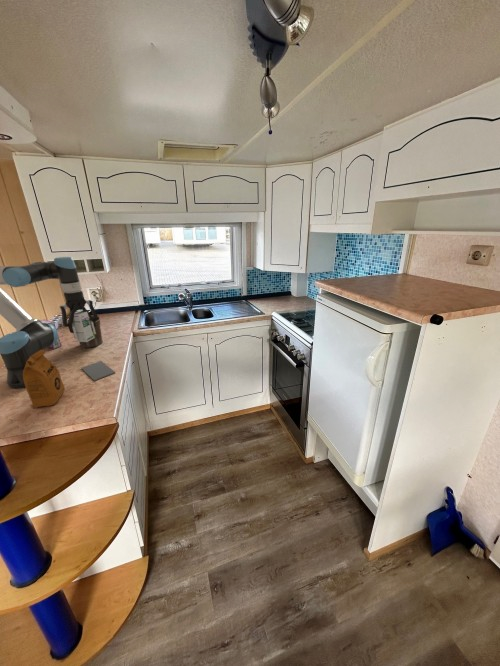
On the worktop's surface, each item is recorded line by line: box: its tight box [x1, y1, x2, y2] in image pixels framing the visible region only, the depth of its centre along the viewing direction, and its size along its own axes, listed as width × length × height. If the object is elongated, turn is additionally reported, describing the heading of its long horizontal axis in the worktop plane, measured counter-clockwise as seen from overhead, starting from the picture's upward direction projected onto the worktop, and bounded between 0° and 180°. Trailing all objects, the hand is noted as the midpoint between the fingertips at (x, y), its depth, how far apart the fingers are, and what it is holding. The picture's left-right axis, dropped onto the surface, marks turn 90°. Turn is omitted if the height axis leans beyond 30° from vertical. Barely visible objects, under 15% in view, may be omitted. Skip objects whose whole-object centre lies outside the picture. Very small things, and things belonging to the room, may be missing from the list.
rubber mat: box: [81, 360, 116, 382], centre depth 138 cm, size 10×18×1 cm, turn 48°
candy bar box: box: [39, 319, 62, 350], centre depth 164 cm, size 11×5×16 cm, turn 62°
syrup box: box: [72, 310, 95, 342], centre depth 133 cm, size 6×6×14 cm
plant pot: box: [78, 315, 104, 349], centre depth 165 cm, size 16×16×16 cm
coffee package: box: [23, 349, 66, 409], centre depth 112 cm, size 10×12×22 cm
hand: (85, 335), depth 135 cm, fingers closed on syrup box, 8 cm apart
